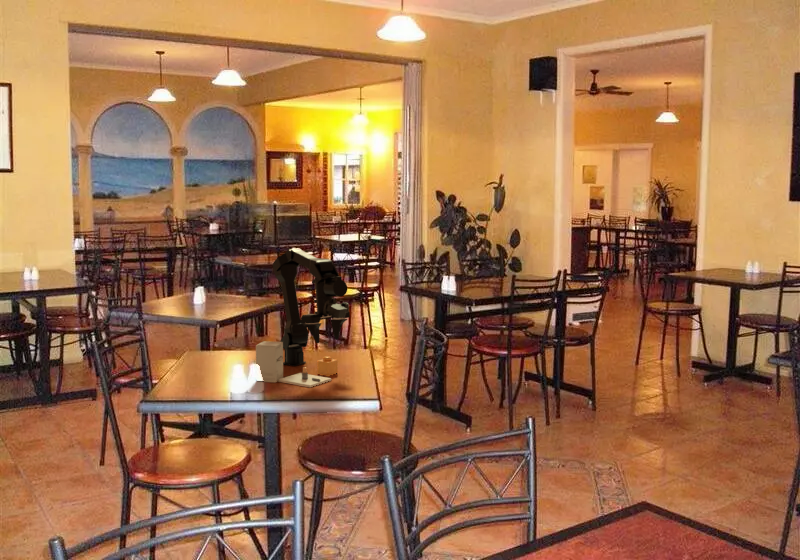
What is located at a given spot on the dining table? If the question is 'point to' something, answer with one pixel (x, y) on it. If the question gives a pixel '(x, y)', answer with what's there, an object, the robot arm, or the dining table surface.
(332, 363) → the orange domed cube
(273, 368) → the supplement box
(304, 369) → the cream base plate
